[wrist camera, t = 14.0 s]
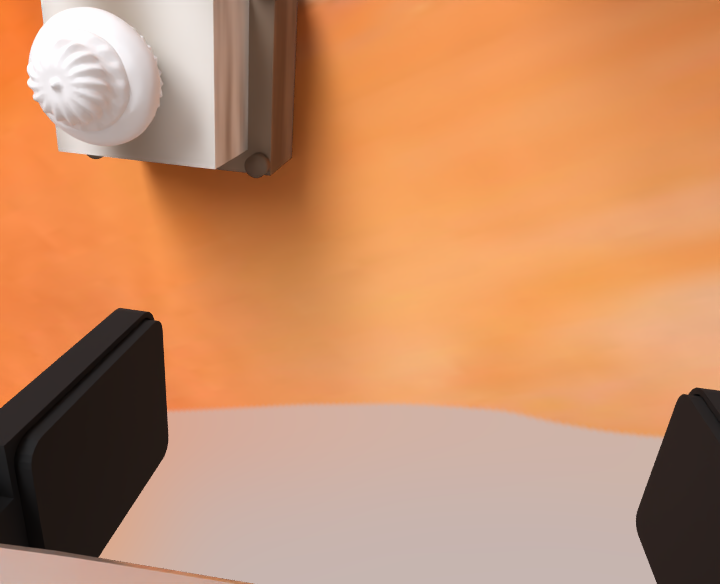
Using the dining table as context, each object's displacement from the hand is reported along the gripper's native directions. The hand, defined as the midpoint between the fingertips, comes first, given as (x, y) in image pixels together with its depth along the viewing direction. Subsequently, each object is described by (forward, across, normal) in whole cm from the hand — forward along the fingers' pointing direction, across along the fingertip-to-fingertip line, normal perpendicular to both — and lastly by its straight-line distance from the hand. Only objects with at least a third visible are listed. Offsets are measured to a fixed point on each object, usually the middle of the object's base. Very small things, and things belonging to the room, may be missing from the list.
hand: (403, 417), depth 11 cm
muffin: (+22, +16, -3) cm, 28 cm away
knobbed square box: (+34, +16, -3) cm, 38 cm away
